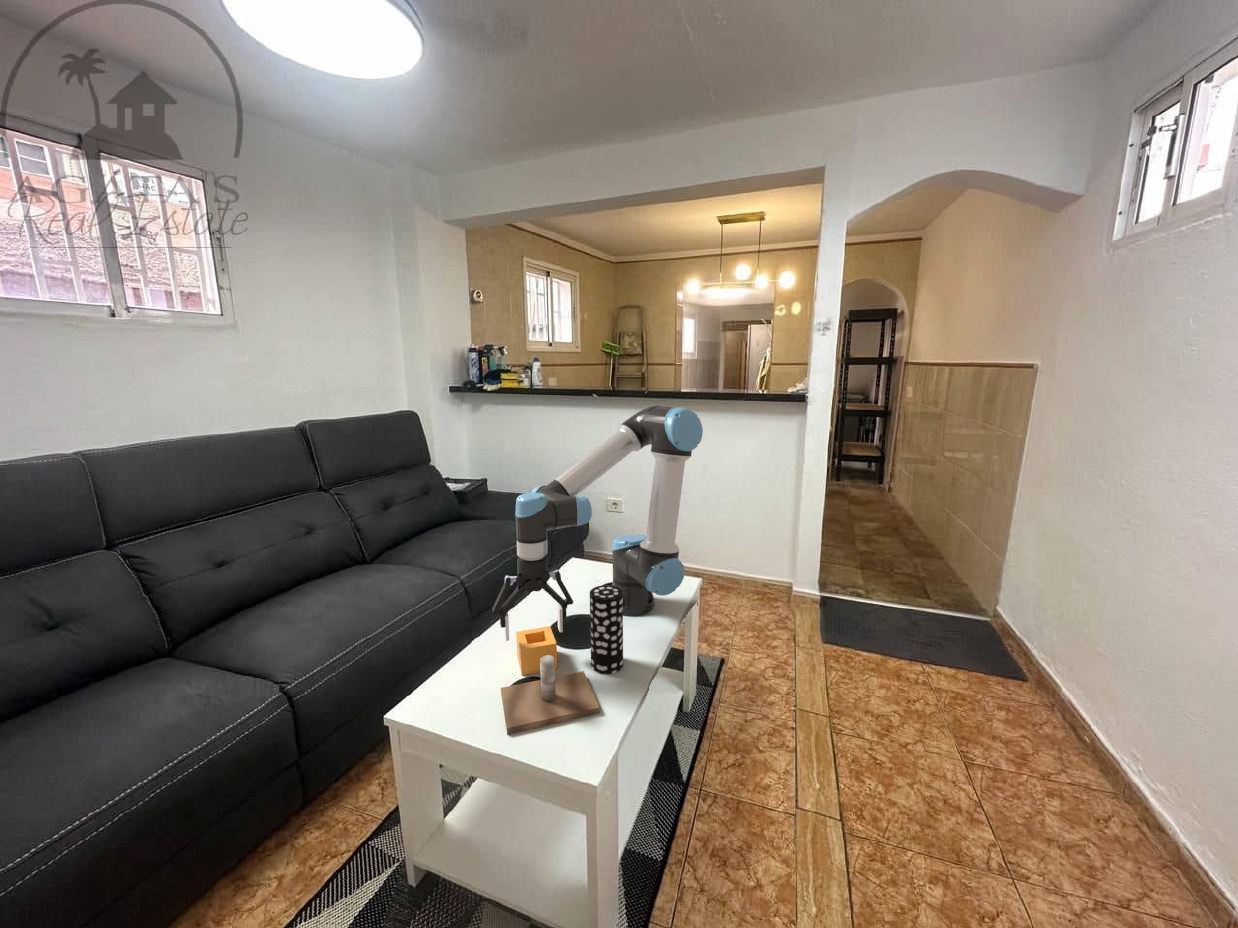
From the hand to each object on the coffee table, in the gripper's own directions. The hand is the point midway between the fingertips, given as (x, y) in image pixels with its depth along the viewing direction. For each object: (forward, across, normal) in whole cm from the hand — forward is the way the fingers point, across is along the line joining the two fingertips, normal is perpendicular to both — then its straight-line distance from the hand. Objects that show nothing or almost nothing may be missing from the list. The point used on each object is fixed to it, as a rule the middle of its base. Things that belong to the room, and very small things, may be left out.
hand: (534, 633), depth 125 cm
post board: (+8, -1, +17) cm, 19 cm away
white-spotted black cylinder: (+8, -18, +7) cm, 21 cm away
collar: (+8, -1, 0) cm, 8 cm away
